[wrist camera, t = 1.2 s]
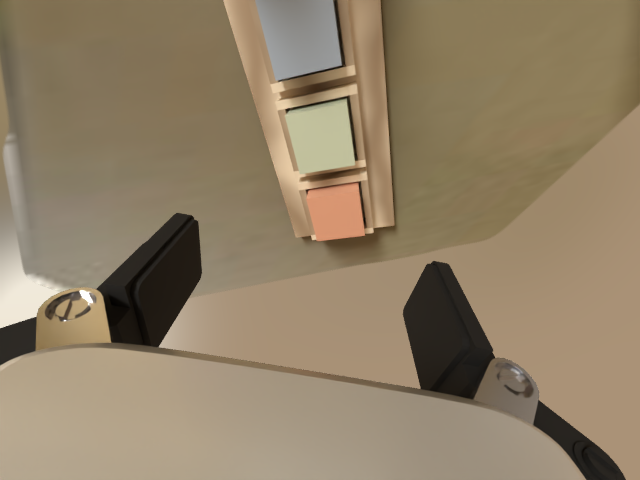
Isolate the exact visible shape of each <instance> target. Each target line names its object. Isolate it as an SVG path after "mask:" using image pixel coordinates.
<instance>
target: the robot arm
mask: <svg viewBox="0 0 640 480" xmlns="http://www.w3.org/2000/svg"><path fill="white" fill-rule="evenodd" d="M201 274H202V267H201V254H200V240H199V226H198V221H197V220H194V217H193V216H191V215H186V214H181V213H176V214H175V215H173V216H172V217H171V218H170V219H169V220H168V221H167V222H166V223H165V224H164V225H163V226H162V227H161V228H160V229H159V230H158V231H157V232H156V233H155V234H154V235H153V236H152V237H151V238H150V239H149V240H148V241H147V242H145V243H144V244H142V245H141V246H140V247H139V248H138V249H137V250H136V251H135V252H134V253H133V254H132V255H131V256H130V257H129V258H128V259H127V260H126V261H125V262H124V263H123V264H122V265H121V266H120V267H119V268H118V269H117V270H116V271H115V272H113V273H112V274H111V275H110V276H109V277H108V278H107V279H106V280H105V281H104V282H103V283H102V284H101V285H100V286H99V287H98V288H97V289H93V288H89V287H79V288H73V289H69V290H66V291H63V292H60V293H58V294H56V295H54V296H52V297H50V298H49V299H48V300H46V301H45V302H44V303H43V304H42V305H41V307H40V308H39V309H38V313H37V317H34V318H31V319H28V320H25V321H22V322H19V323H16V324H12V325H9V326H6V327H3V328H0V480H626V479H625V477H624V475H623V473H622V472H621V470H620V469H619V467H618V466H617V465H616V464H615V463H614V461H613V460H612V459H611V458H610V457H609V456H608V455H607V454H606V453H605V452H604V451H603V450H602V449H601V448H600V447H598V446H597V445H596V444H595V443H593V442H592V441H590V440H589V439H588V438H587V437H585V436H584V435H583V434H582V433H580V432H579V431H578V430H576V429H575V428H573V426H571V425H570V424H569V423H567V422H566V421H565V420H564V419H562V418H561V417H560V416H558V415H557V414H556V413H554V412H553V411H552V410H550V409H549V408H548V407H547V406H545V405H544V404H543V403H542V402H540V401H539V390H538V387H537V385H536V383H535V382H534V380H533V379H532V377H531V376H530V375H529V374H528V373H527V372H526V371H525V370H524V369H523V368H521V367H520V366H519V365H518V364H516V363H514V362H512V361H510V360H508V359H505V358H495V356H494V354H493V353H492V351H493V349H492V347H491V345H490V343H489V341H488V339H487V337H486V335H485V333H484V331H483V329H482V327H481V325H480V324H479V322H478V319H477V318H476V316H475V314H474V312H473V310H472V308H471V306H470V304H469V302H468V300H467V298H466V296H465V294H464V293H463V290H462V289H461V287H460V285H459V283H458V281H457V279H456V277H455V275H454V273H453V271H452V269H451V268H450V266H449V264H447V263H442V262H436V261H433V262H432V263H431V264H427V265H426V267H425V269H424V271H423V272H422V274H421V276H420V278H419V280H418V282H417V284H416V286H415V288H414V290H413V292H412V294H411V295H410V297H409V299H408V301H407V303H406V305H405V307H404V310H403V317H404V321H405V325H406V329H407V333H408V337H409V341H410V346H411V350H412V354H413V358H414V362H415V366H416V370H417V374H418V379H419V383H420V386H421V389H417V388H410V387H405V386H399V385H393V384H387V383H381V382H375V381H369V380H363V379H357V378H351V377H345V376H339V375H332V374H327V373H321V372H314V371H308V370H302V369H296V368H290V367H283V366H277V365H271V364H265V363H258V362H252V361H245V360H238V359H232V358H226V357H220V356H213V355H207V354H200V353H194V352H187V351H180V350H173V349H166V348H159V345H160V344H161V342H162V340H163V339H164V337H165V335H166V334H167V332H168V330H169V329H170V327H171V326H172V324H173V322H174V321H175V319H176V318H177V316H178V314H179V313H180V311H181V309H182V308H183V306H184V305H185V303H186V301H187V300H188V298H189V297H190V295H191V293H192V292H193V290H194V288H195V287H196V285H197V284H198V282H199V280H200V278H201Z"/></svg>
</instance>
